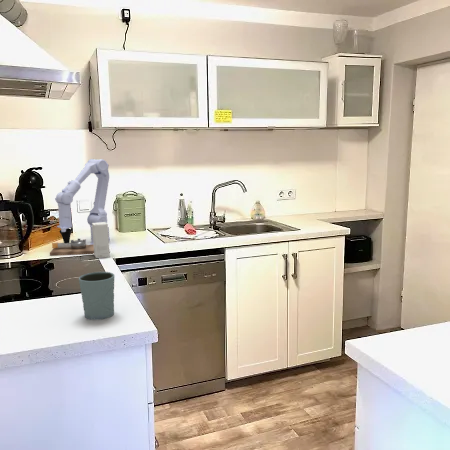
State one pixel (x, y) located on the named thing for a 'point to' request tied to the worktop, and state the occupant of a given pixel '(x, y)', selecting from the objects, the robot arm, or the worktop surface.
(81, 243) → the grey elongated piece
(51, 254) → the walnut board
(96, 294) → the grey-green cup
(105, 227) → the skincare box
